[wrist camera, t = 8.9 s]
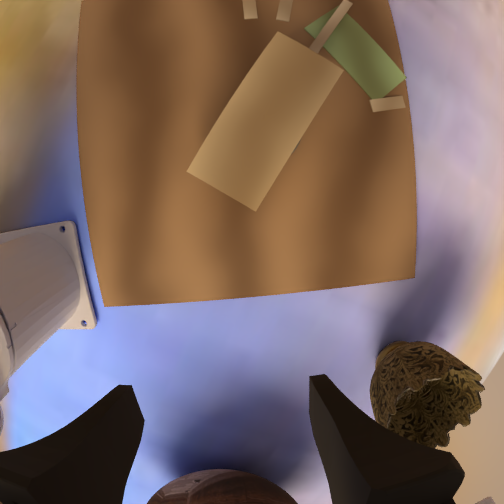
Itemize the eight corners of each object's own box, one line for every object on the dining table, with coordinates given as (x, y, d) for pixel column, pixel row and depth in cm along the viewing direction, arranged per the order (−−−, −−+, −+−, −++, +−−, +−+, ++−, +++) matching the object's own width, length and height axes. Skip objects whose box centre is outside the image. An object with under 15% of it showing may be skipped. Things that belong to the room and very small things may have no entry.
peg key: (193, 168, 18) (179, 167, 14) (316, -11, 15) (330, -45, 11) (259, 206, 19) (263, 216, 15) (374, 24, 16) (400, -3, 12)
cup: (401, 296, 21) (460, 349, 14) (446, 345, 23) (497, 398, 15) (330, 367, 23) (359, 441, 15) (383, 405, 24) (417, 470, 16)
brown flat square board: (110, 300, 21) (103, 307, 20) (88, 7, 16) (81, 0, 15) (407, 272, 21) (416, 278, 20) (375, -19, 16) (381, -27, 14)
